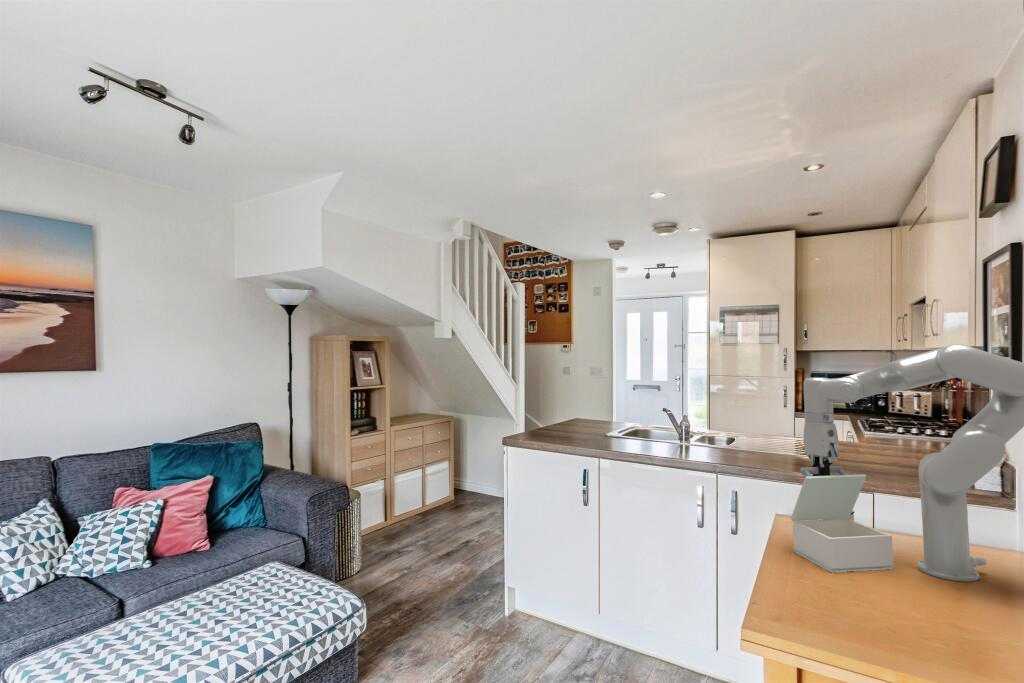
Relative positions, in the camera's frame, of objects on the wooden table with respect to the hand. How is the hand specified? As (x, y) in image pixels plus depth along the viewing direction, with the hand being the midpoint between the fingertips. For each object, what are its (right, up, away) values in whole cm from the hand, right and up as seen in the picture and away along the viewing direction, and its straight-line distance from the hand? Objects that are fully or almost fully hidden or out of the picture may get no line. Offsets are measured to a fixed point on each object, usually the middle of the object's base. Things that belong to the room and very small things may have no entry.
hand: (821, 478), depth 155 cm
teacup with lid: (+14, -22, +14) cm, 30 cm away
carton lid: (+1, -5, -3) cm, 6 cm away
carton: (+1, -21, -8) cm, 23 cm away
